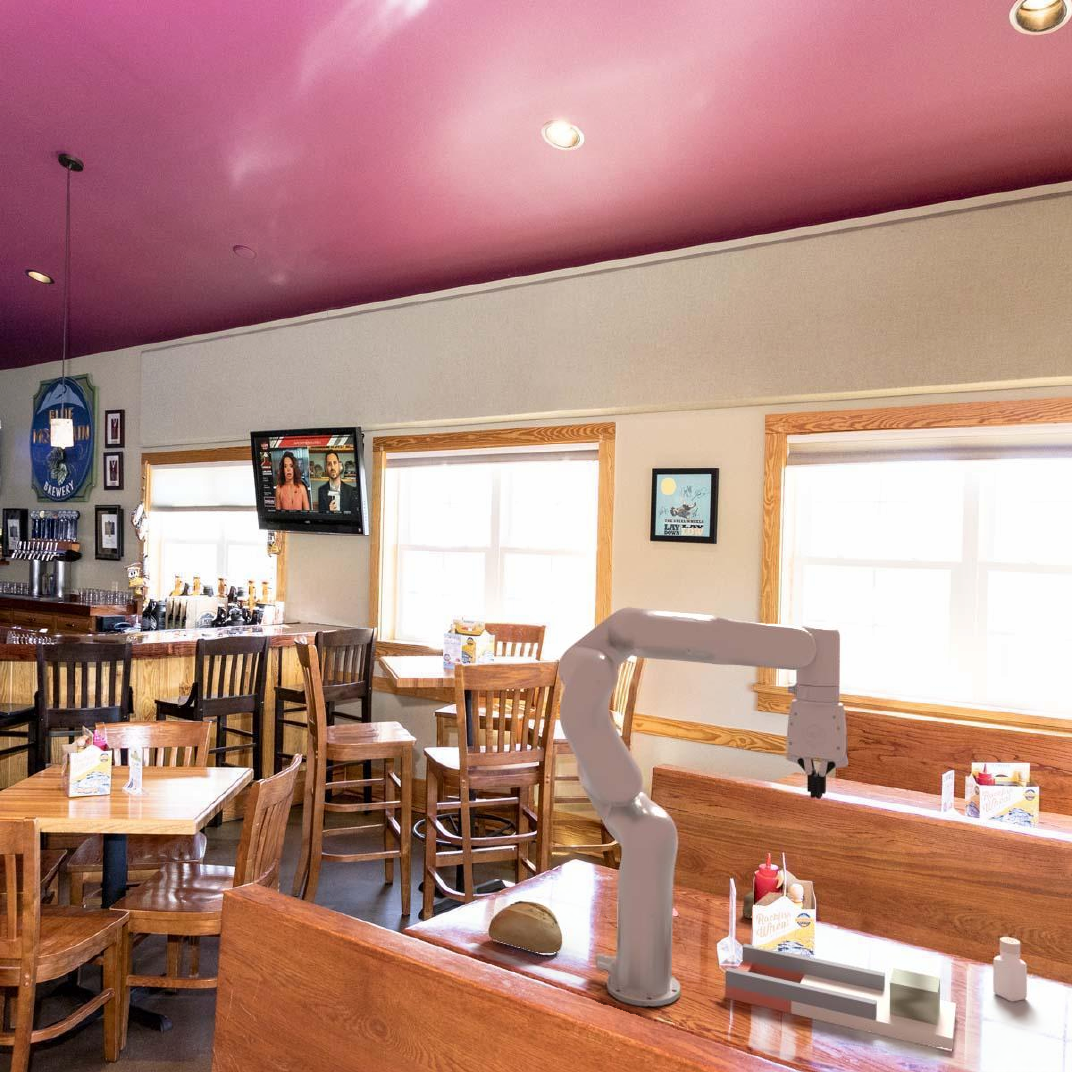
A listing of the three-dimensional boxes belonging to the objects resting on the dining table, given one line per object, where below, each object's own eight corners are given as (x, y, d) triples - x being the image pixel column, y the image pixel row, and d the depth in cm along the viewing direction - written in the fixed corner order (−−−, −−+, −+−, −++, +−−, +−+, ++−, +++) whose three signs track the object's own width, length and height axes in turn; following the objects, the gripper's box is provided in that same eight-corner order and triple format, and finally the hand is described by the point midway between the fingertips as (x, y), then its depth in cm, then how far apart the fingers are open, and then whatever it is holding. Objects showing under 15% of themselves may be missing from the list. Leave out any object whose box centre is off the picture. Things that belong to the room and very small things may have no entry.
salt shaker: (1012, 1003, 153) (1012, 946, 153) (991, 993, 157) (991, 937, 157) (1028, 999, 155) (1028, 943, 155) (1007, 989, 158) (1008, 934, 159)
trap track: (725, 997, 153) (725, 970, 153) (744, 968, 164) (744, 943, 164) (952, 1051, 137) (952, 1021, 137) (955, 1015, 148) (956, 987, 148)
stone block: (792, 933, 182) (792, 907, 182) (739, 919, 189) (740, 894, 189) (803, 924, 186) (803, 900, 187) (751, 911, 193) (751, 887, 194)
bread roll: (501, 931, 179) (502, 890, 179) (571, 945, 173) (572, 903, 173) (479, 949, 170) (480, 906, 170) (552, 965, 164) (553, 920, 164)
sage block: (889, 1014, 144) (889, 982, 144) (893, 999, 149) (893, 968, 149) (937, 1025, 141) (937, 992, 141) (939, 1009, 146) (940, 977, 146)
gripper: (771, 693, 163) (770, 795, 162) (858, 700, 156) (857, 807, 156) (780, 689, 170) (779, 787, 169) (863, 695, 163) (863, 798, 162)
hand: (816, 796), depth 162 cm, fingers closed
